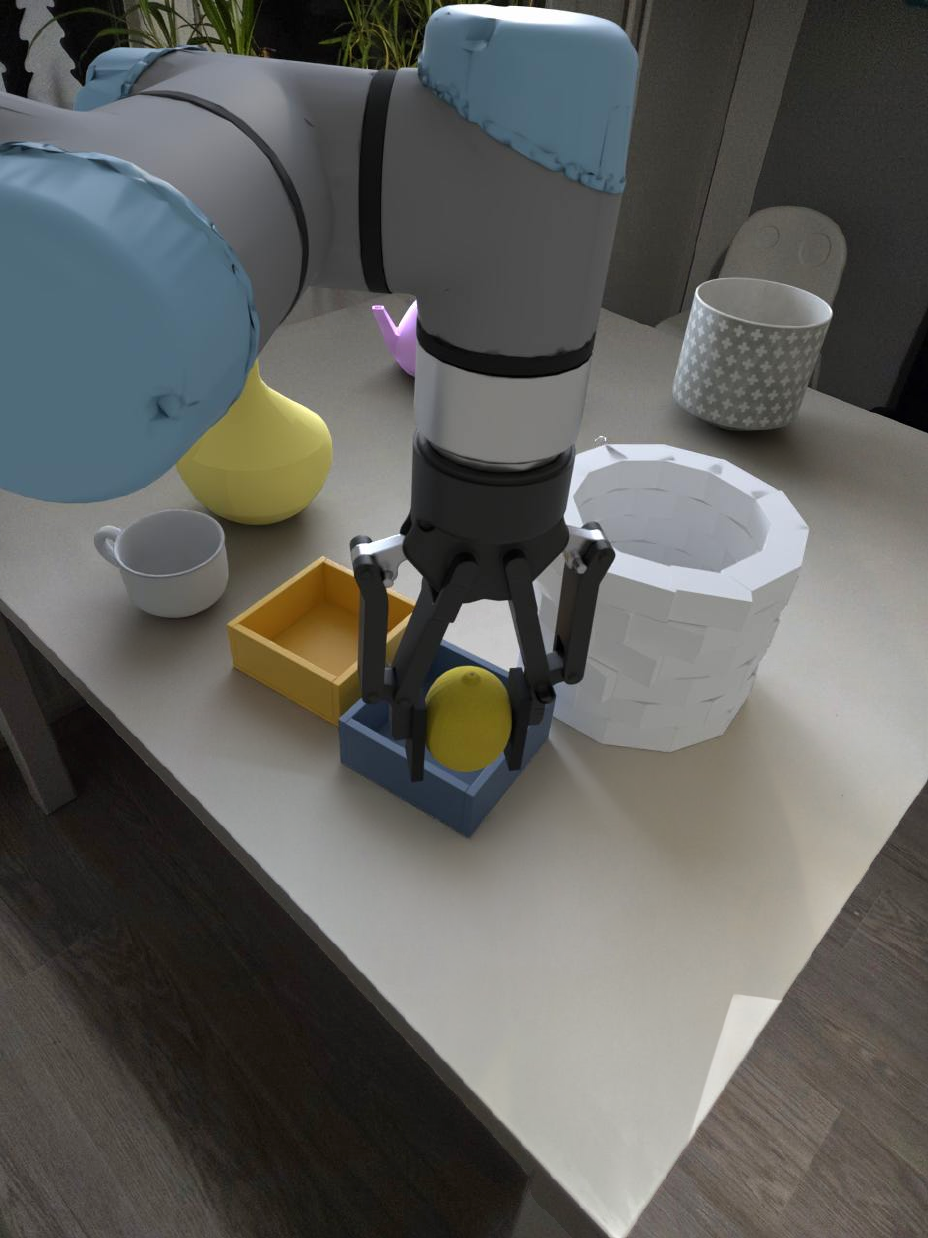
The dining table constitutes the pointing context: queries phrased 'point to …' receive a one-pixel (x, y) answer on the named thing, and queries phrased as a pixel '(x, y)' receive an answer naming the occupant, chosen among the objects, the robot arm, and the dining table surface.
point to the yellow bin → (312, 638)
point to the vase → (259, 458)
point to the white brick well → (673, 593)
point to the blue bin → (442, 789)
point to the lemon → (467, 719)
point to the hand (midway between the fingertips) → (462, 758)
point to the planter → (749, 352)
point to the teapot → (400, 336)
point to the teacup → (169, 561)
